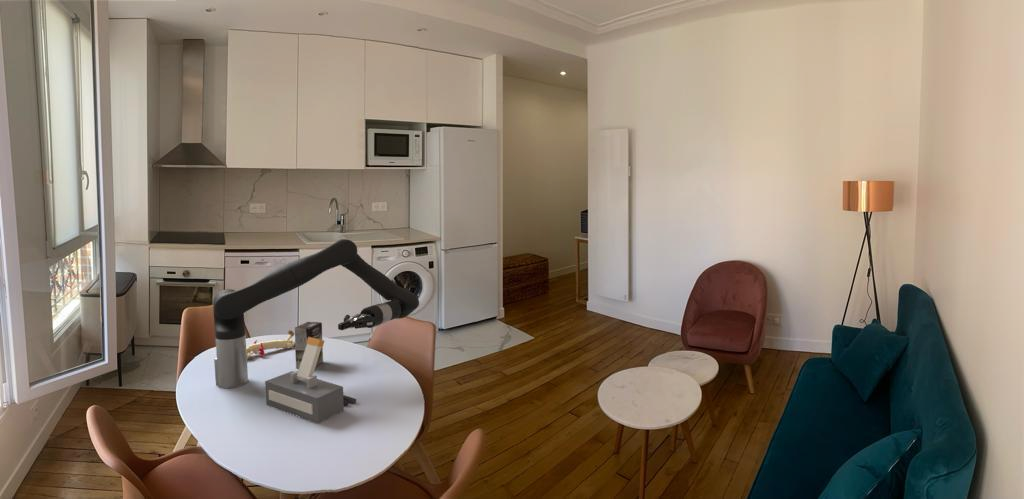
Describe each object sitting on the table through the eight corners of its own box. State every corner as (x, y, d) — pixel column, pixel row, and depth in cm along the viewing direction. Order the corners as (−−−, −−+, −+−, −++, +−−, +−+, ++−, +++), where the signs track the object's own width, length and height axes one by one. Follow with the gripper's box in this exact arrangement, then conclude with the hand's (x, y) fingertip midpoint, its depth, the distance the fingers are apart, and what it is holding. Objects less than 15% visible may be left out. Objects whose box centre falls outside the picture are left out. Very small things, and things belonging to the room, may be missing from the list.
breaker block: (308, 387, 181) (307, 357, 179) (358, 403, 169) (357, 371, 168) (265, 405, 167) (263, 372, 165) (316, 424, 155) (315, 389, 153)
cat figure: (288, 347, 226) (226, 356, 207) (289, 327, 225) (227, 335, 207) (299, 352, 219) (236, 362, 201) (299, 332, 219) (236, 340, 200)
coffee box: (310, 370, 197) (309, 328, 194) (295, 368, 198) (293, 327, 196) (323, 361, 206) (322, 322, 203) (309, 360, 207) (307, 320, 205)
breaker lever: (298, 379, 166) (312, 337, 169) (311, 383, 163) (325, 340, 166) (293, 379, 164) (307, 336, 168) (306, 383, 162) (320, 339, 165)
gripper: (362, 302, 193) (325, 313, 178) (389, 307, 186) (353, 319, 171) (363, 322, 194) (326, 334, 179) (390, 327, 187) (354, 341, 172)
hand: (339, 327), depth 175 cm, fingers closed
